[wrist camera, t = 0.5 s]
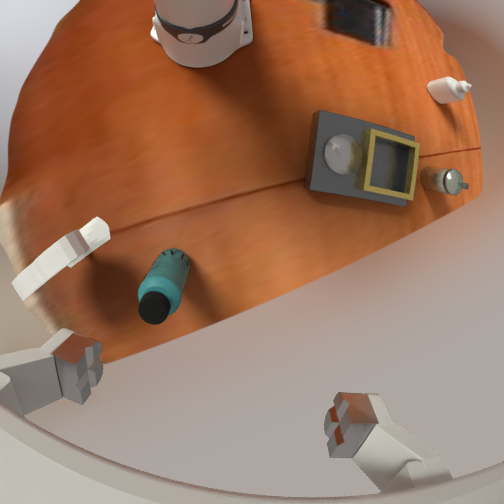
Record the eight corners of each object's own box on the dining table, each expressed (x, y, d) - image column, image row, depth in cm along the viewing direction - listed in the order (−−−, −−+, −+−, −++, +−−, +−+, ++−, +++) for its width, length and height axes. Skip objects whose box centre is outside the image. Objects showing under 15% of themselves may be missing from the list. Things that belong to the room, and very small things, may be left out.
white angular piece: (104, 210, 51) (57, 232, 33) (118, 233, 52) (77, 264, 35) (52, 252, 51) (2, 284, 34) (64, 272, 53) (19, 310, 36)
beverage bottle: (198, 255, 55) (187, 303, 36) (181, 284, 56) (165, 342, 37) (167, 238, 53) (140, 278, 34) (151, 268, 55) (121, 319, 35)
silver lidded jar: (421, 164, 54) (449, 166, 45) (443, 171, 55) (471, 174, 46) (418, 187, 55) (446, 192, 46) (440, 193, 56) (468, 199, 47)
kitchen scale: (303, 187, 53) (313, 190, 47) (313, 113, 49) (323, 108, 44) (395, 203, 56) (411, 208, 50) (403, 137, 52) (420, 136, 46)
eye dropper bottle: (433, 106, 50) (469, 101, 39) (423, 83, 49) (458, 73, 37) (445, 102, 50) (480, 97, 39) (435, 79, 49) (470, 70, 37)
